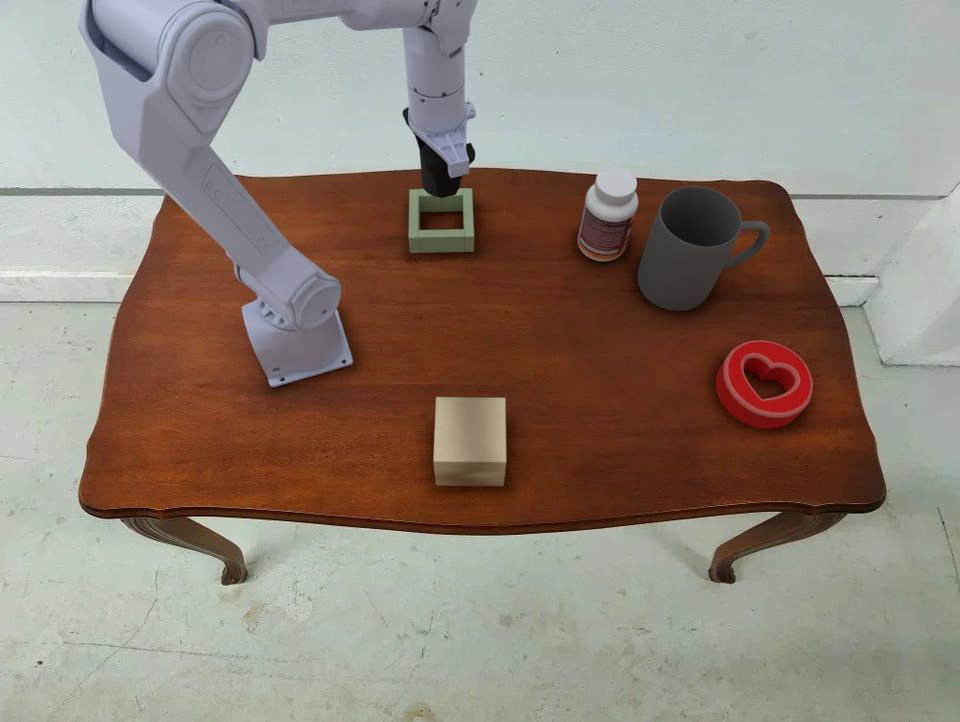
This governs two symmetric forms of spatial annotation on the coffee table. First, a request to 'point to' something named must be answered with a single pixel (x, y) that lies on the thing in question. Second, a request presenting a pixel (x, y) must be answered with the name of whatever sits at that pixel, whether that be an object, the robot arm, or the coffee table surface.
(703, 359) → the coffee table surface
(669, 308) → the mug
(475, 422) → the stand
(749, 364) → the decorative ornament
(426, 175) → the pad plug
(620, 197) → the pill bottle
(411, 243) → the holder
